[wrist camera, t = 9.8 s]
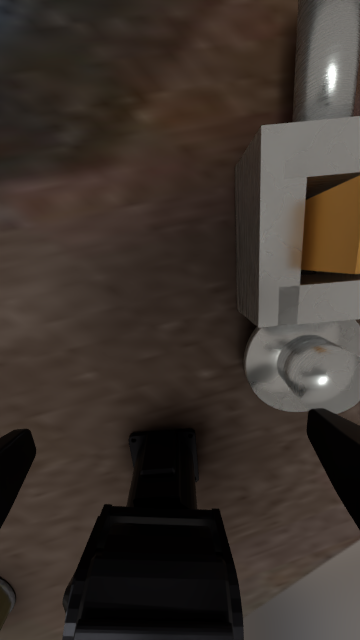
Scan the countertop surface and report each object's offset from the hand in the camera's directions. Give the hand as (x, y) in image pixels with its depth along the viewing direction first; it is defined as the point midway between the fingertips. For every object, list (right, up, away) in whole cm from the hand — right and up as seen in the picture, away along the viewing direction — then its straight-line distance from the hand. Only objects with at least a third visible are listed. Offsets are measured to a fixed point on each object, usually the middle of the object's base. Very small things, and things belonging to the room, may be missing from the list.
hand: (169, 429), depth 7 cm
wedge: (+9, +10, +10) cm, 17 cm away
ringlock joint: (+9, +10, +10) cm, 17 cm away
